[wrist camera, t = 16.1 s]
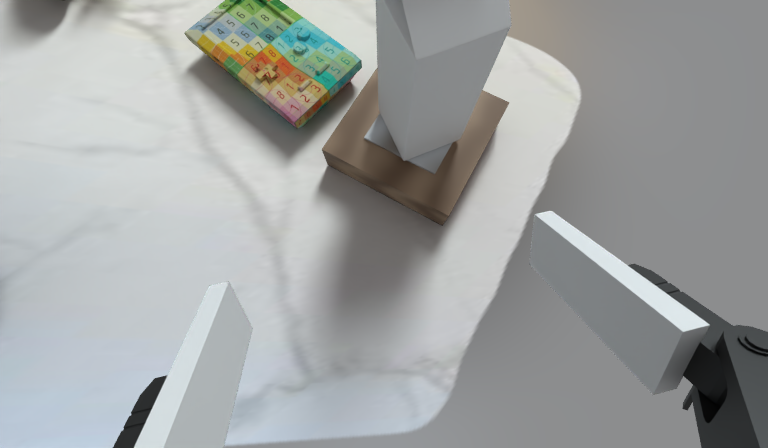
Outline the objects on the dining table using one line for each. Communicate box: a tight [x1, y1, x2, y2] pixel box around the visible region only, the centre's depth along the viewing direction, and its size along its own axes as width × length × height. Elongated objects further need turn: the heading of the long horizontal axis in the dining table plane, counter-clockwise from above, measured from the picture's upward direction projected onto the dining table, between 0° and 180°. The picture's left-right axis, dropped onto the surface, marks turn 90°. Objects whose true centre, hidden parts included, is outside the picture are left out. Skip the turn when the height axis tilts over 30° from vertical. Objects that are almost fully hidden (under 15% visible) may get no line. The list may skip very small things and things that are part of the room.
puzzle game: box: [184, 0, 362, 129], centre depth 42 cm, size 12×5×20 cm
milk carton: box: [376, 0, 511, 161], centre depth 28 cm, size 7×7×19 cm
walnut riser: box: [322, 67, 509, 225], centre depth 39 cm, size 16×16×4 cm
